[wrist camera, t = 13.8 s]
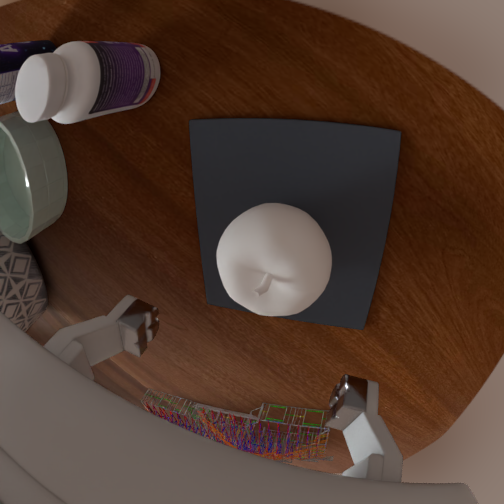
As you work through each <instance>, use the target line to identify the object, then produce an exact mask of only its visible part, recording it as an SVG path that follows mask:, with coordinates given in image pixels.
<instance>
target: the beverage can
mask: <svg viewBox="0 0 504 504" xmlns="http://www.w3.org/2000/svg"><path fill="white" fill-rule="evenodd" d="M55 50H56V47H55V45H54V44H53V42H51V41H49V40H41V41H28V42H18V43H10V44H2V45H0V104H3V103H6V102H10V101H14V100H16V97H15V87H16V81H17V77H18V73H19V71H20V69H21V67H22V65H23V63H24V62H25V61H26V60H27V59H28V58H29V57H30V56H32V55H36V54H44V53H53V52H54V51H55Z"/></svg>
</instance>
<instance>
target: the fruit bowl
mask: <svg viewBox="0 0 504 504" xmlns="http://www.w3.org/2000/svg"><path fill="white" fill-rule="evenodd" d="M67 192H68V180H67V170H66V163H65V159H64V154H63V151H62V147H61V145H60V142H59V139H58V137H57V135H56V133H55V131H54V129H53V127H52V126H51V124H50V123H49V121H48V120H42V121H38V122H33V123H31V122H27V121H25V120H24V119H23V118H22V116H21V115H20V113H19V111H17V112H14V113H10V114H7V115H4V116H1V117H0V231H1V232H2V234H3V235H4V236H6V237H7V238H8V239H9V240H11V241H12V242H15V243H19V244H21V243H23V242H25V241H27V240H29V239H30V238H32V237H33V236H35V235H36V234H38V233H39V232H41V231H42V230H44V229H45V228H47V227H48V226H50V225H51V224H53V223H54V222H55V221H57V220H58V219H59V218H60V216H61V215H62V213H63V211H64V208H65V205H66V200H67Z"/></svg>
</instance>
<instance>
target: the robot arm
mask: <svg viewBox="0 0 504 504" xmlns="http://www.w3.org/2000/svg"><path fill="white" fill-rule="evenodd" d="M158 314H159V310H158V308H156V307H154V306H152V305H150V304H148V303H146V302H144V301H142V300H140V299H137V298H135V297H133V296H131V295H126V296H125V297H124V298H123V299H122V300H121V301H120V302H119V303H118V304H117V305H116V306H115V307H114V308H113V310H112V311H111V312H110V313H109V314H108V315H107V316H104V315H103V316H100V317H96V318H93V319H90V320H87V321H84V322H81V323H77V324H74V325H71V326H68V327H65V328H61V329H59V330H58V331H57V332H56V333H55V335H54V336H53V337H52V338H51V339H50V340H49V341H48V342H47V343H46V344H45V345H44V346H42V345H41V344H39V343H38V342H37V341H35V340H34V339H33V338H32V337H30V336H29V335H28V334H27V333H25V332H24V331H23V330H22V329H20V328H19V327H18V326H17V325H16V324H14V323H13V322H12V321H11V320H10V319H9V318H8V317H6V316H5V315H4V314H3V313H2V312H1V311H0V504H478V502H477V500H476V498H475V496H474V494H473V493H472V491H471V490H470V488H469V487H468V485H466V484H464V483H445V484H443V483H442V484H441V483H440V484H434V483H433V484H432V483H428V484H427V483H404V482H401V477H402V464H403V463H402V462H403V456H402V454H401V452H400V450H399V448H398V447H397V445H396V443H395V441H394V439H393V437H392V435H391V434H390V432H389V430H388V428H387V426H386V425H385V423H384V421H383V419H382V417H381V416H380V415H378V392H379V384H378V382H374V381H370V380H366V379H363V378H359V377H355V376H351V375H347V374H345V375H343V376H342V378H341V381H340V383H339V384H336V386H335V387H334V389H333V391H332V393H331V396H330V400H329V406H330V408H331V409H330V410H329V411H328V412H327V417H326V422H325V426H327V427H331V428H335V429H339V430H343V434H344V437H345V440H346V442H347V445H348V448H349V451H350V454H351V456H352V459H353V462H354V466H352V467H350V468H349V469H347V470H345V471H344V472H343V473H342V475H336V474H331V473H326V472H321V471H316V470H311V469H307V468H302V467H298V466H294V465H290V464H286V463H282V462H279V461H275V460H271V459H268V458H265V457H261V456H258V455H255V454H251V453H248V452H245V451H242V450H239V449H236V448H233V447H231V446H228V445H225V444H222V443H219V442H217V441H214V440H212V439H209V438H206V437H204V436H201V435H199V434H196V433H194V432H192V431H189V430H187V429H185V428H182V427H180V426H178V425H176V424H173V423H171V422H169V421H167V420H165V419H163V418H160V417H158V416H156V415H154V414H152V413H150V412H148V411H146V410H144V409H142V408H140V407H138V406H137V405H135V404H133V403H131V402H129V401H127V400H125V399H124V398H122V397H120V396H118V395H116V394H115V393H113V392H111V391H109V390H108V389H106V388H104V387H103V386H101V385H99V384H98V383H96V382H94V381H93V380H94V378H95V377H94V373H93V371H92V368H91V366H93V365H95V364H97V363H99V362H101V361H104V360H106V359H108V358H110V357H112V356H114V355H116V354H118V353H120V352H122V351H124V350H125V351H127V352H129V353H131V354H133V355H135V356H137V357H141V355H142V354H143V353H144V351H145V350H146V348H147V342H149V341H152V340H153V339H154V337H155V336H156V334H157V331H158V329H159V320H158V319H157V316H158Z"/></svg>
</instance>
